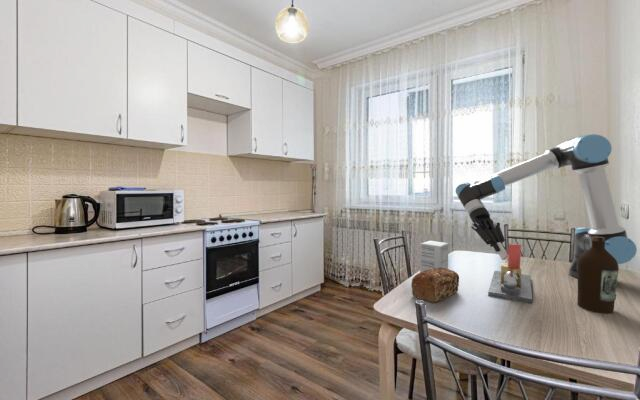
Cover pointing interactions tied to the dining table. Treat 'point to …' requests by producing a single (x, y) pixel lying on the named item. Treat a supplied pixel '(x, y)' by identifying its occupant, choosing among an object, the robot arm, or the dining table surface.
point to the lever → (514, 256)
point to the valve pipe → (511, 284)
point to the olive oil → (597, 278)
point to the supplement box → (433, 255)
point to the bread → (435, 284)
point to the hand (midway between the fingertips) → (505, 258)
